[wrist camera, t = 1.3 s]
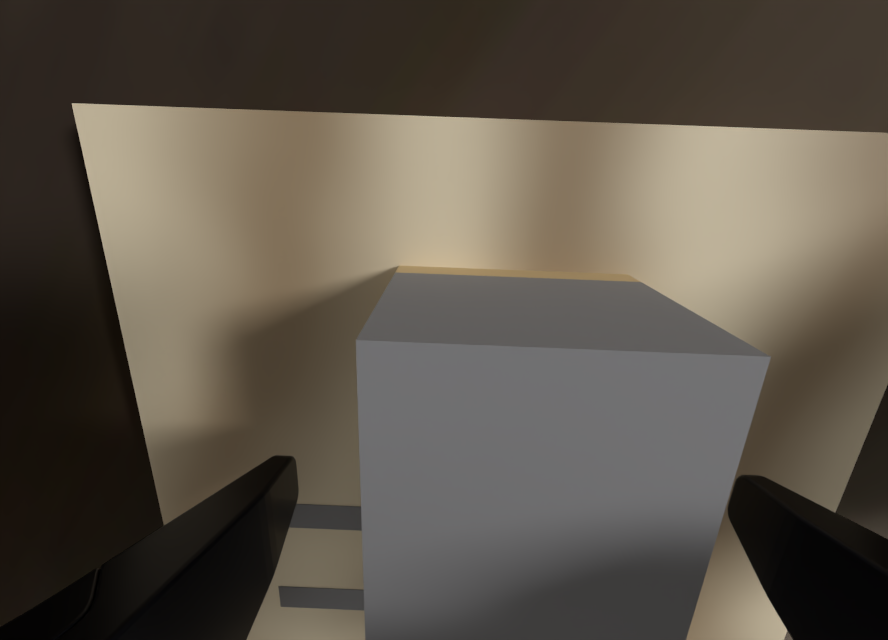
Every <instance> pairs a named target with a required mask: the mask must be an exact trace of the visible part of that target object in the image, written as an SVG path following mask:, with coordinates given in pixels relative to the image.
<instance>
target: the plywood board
mask: <svg viewBox="0 0 888 640" xmlns="http://www.w3.org/2000/svg"><path fill="white" fill-rule="evenodd" d="M72 107H73V112H74V116H75V121H76V125H77V130H78V134H79V139H80V144H81V148H82V153H83V157H84V162H85V166H86V171H87V176H88V180H89V185H90V189H91V194H92V198H93V203H94V208H95V212H96V217H97V221H98V226H99V231H100V235H101V240H102V244H103V249H104V253H105V258H106V263H107V267H108V272H109V276H110V281H111V285H112V290H113V295H114V299H115V304H116V308H117V313H118V318H119V322H120V327H121V331H122V336H123V340H124V345H125V350H126V354H127V359H128V363H129V368H130V372H131V377H132V382H133V386H134V391H135V395H136V400H137V404H138V409H139V414H140V418H141V423H142V427H143V432H144V437H145V441H146V446H147V450H148V455H149V459H150V464H151V469H152V473H153V478H154V482H155V487H156V491H157V496H158V501H159V505H160V510H161V514H162V519H163V524H164V525H165V524H167V523H169V522H170V521H172V520H173V519H175V518H176V517H178V516H179V515H181V514H183V513H184V512H186V511H187V510H189V509H190V508H192V507H194V506H195V505H197V504H198V503H200V502H201V501H203V500H205V499H206V498H208V497H209V496H211V495H212V494H214V493H216V492H217V491H219V490H220V489H222V488H223V487H225V486H226V485H228V484H230V483H231V482H233V481H234V480H236V479H237V478H239V477H241V476H242V475H244V474H245V473H247V472H248V471H250V470H252V469H253V468H255V467H256V466H258V465H259V464H261V463H263V462H264V461H266V460H267V459H269V458H270V457H272V456H275V455H285V456H293V457H294V458H295V460H296V464H297V475H298V487H299V494H298V500H297V504H296V507H295V510H294V513H293V516H292V520H291V523H290V526H289V529H288V532H287V536H286V539H285V542H284V545H283V549H282V552H281V555H280V558H279V561H278V565H277V568H276V571H275V574H274V576H273V579H272V581H271V584H270V586H269V589H268V591H267V593H266V596H265V598H264V600H263V603H262V605H261V607H260V610H259V612H258V614H257V617H256V619H255V621H254V624H253V626H252V628H251V631H250V633H249V635H248V637H247V640H365V614H364V583H363V552H362V520H361V489H360V458H359V427H358V395H357V364H356V339H357V337H358V335H359V334H360V332H361V330H362V329H363V327H364V325H365V323H366V322H367V320H368V318H369V317H370V315H371V313H372V311H373V310H374V308H375V306H376V305H377V303H378V301H379V299H380V298H381V296H382V294H383V293H384V291H385V289H386V287H387V286H388V284H389V282H390V281H391V279H392V277H393V275H394V274H395V272H396V270H397V269H398V267H399V266H424V267H450V268H476V269H501V270H527V271H553V272H579V273H604V274H628V275H630V276H632V277H633V278H635V279H637V280H638V281H640V282H642V283H644V284H645V285H647V286H649V287H651V288H652V289H654V290H656V291H658V292H659V293H661V294H663V295H665V296H666V297H668V298H670V299H671V300H673V301H675V302H677V303H678V304H680V305H682V306H684V307H685V308H687V309H689V310H691V311H692V312H694V313H696V314H698V315H699V316H701V317H703V318H705V319H706V320H708V321H710V322H711V323H713V324H715V325H717V326H718V327H720V328H722V329H724V330H725V331H727V332H729V333H731V334H732V335H734V336H736V337H738V338H739V339H741V340H743V341H744V342H746V343H748V344H750V345H751V346H753V347H755V348H757V349H758V350H760V351H762V352H764V353H765V354H767V355H769V356H771V359H770V362H769V365H768V369H767V372H766V375H765V379H764V382H763V385H762V389H761V392H760V395H759V399H758V402H757V405H756V409H755V412H754V415H753V419H752V422H751V425H750V429H749V432H748V435H747V439H746V442H745V445H744V448H743V452H742V455H741V458H740V462H739V465H738V468H737V472H736V475H735V478H734V482H733V485H732V488H731V492H730V495H729V498H728V502H727V505H726V508H725V512H724V515H723V518H722V522H721V525H720V528H719V532H718V535H717V538H716V542H715V545H714V548H713V552H712V555H711V558H710V562H709V565H708V568H707V572H706V575H705V578H704V582H703V585H702V588H701V591H700V595H699V598H698V601H697V605H696V608H695V611H694V615H693V618H692V621H691V625H690V628H689V631H688V635H687V638H686V640H784V638H785V635H786V633H787V629H786V627H785V626H784V624H783V622H782V621H781V619H780V617H779V616H778V614H777V612H776V611H775V609H774V607H773V606H772V604H771V602H770V600H769V599H768V597H767V595H766V593H765V591H764V589H763V587H762V585H761V583H760V581H759V579H758V577H757V575H756V573H755V571H754V569H753V567H752V565H751V563H750V561H749V559H748V557H747V555H746V553H745V551H744V549H743V547H742V545H741V543H740V541H739V539H738V537H737V534H736V532H735V530H734V528H733V526H732V524H731V522H730V520H729V517H728V504H729V500H730V497H731V494H732V491H733V487H734V484H735V481H736V479H737V478H738V476H740V475H760V476H764V477H766V478H768V479H770V480H772V481H774V482H776V483H778V484H780V485H782V486H784V487H786V488H788V489H790V490H792V491H794V492H796V493H798V494H800V495H801V496H803V497H805V498H807V499H809V500H811V501H813V502H815V503H817V504H819V505H821V506H823V507H825V508H827V509H829V510H831V511H833V512H836V510H837V508H838V505H839V503H840V500H841V498H842V495H843V493H844V490H845V488H846V485H847V483H848V481H849V478H850V476H851V473H852V471H853V468H854V466H855V463H856V461H857V458H858V456H859V454H860V451H861V449H862V446H863V444H864V441H865V439H866V436H867V434H868V431H869V429H870V426H871V424H872V422H873V419H874V417H875V414H876V412H877V409H878V407H879V404H880V402H881V399H882V397H883V395H884V392H885V390H886V387H887V385H888V133H874V132H847V131H819V130H792V129H764V128H737V127H709V126H682V125H654V124H627V123H599V122H572V121H544V120H517V119H489V118H462V117H434V116H407V115H379V114H352V113H324V112H297V111H269V110H241V109H214V108H186V107H159V106H131V105H104V104H76V103H72Z"/></svg>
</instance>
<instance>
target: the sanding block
mask: <svg viewBox="0 0 888 640" xmlns="http://www.w3.org/2000/svg"><path fill="white" fill-rule="evenodd" d="M770 359H771V356H769V355H767V354H765V353H764V352H762V351H760V350H758V349H757V348H755V347H753V346H751V345H750V344H748V343H746V342H744V341H743V340H741V339H739V338H738V337H736V336H734V335H732V334H731V333H729V332H727V331H725V330H724V329H722V328H720V327H718V326H717V325H715V324H713V323H711V322H710V321H708V320H706V319H705V318H703V317H701V316H699V315H698V314H696V313H694V312H692V311H691V310H689V309H687V308H685V307H684V306H682V305H680V304H678V303H677V302H675V301H673V300H671V299H670V298H668V297H666V296H665V295H663V294H661V293H659V292H658V291H656V290H654V289H652V288H651V287H649V286H647V285H645V284H644V283H642V282H640V281H638V280H637V279H635V278H633V277H632V276H630V275H628V274H604V273H579V272H553V271H527V270H501V269H476V268H450V267H424V266H399V267H398V269H397V270H396V272H395V274H394V275H393V277H392V279H391V281H390V282H389V284H388V286H387V287H386V289H385V291H384V293H383V294H382V296H381V298H380V299H379V301H378V303H377V305H376V306H375V308H374V310H373V311H372V313H371V315H370V317H369V318H368V320H367V322H366V323H365V325H364V327H363V329H362V330H361V332H360V334H359V335H358V337H357V339H356V364H357V395H358V427H359V458H360V489H361V520H362V552H363V583H364V614H365V640H686V638H687V635H688V631H689V628H690V625H691V621H692V618H693V615H694V611H695V608H696V605H697V601H698V598H699V595H700V591H701V588H702V585H703V582H704V578H705V575H706V572H707V568H708V565H709V562H710V558H711V555H712V552H713V548H714V545H715V542H716V538H717V535H718V532H719V528H720V525H721V522H722V518H723V515H724V512H725V508H726V505H727V502H728V498H729V495H730V492H731V488H732V485H733V482H734V478H735V475H736V472H737V468H738V465H739V462H740V458H741V455H742V452H743V448H744V445H745V442H746V439H747V435H748V432H749V429H750V425H751V422H752V419H753V415H754V412H755V409H756V405H757V402H758V399H759V395H760V392H761V389H762V385H763V382H764V379H765V375H766V372H767V369H768V365H769V362H770Z"/></svg>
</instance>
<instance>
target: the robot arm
mask: <svg viewBox="0 0 888 640" xmlns="http://www.w3.org/2000/svg"><path fill="white" fill-rule="evenodd" d="M298 494H299V487H298V475H297V464H296V460H295V458H294V457H293V456H285V455H275V456H272V457H270V458H269V459H267V460H266V461H264V462H263V463H261V464H259V465H258V466H256V467H255V468H253V469H252V470H250V471H248V472H247V473H245V474H244V475H242V476H241V477H239V478H237V479H236V480H234V481H233V482H231V483H230V484H228V485H226V486H225V487H223V488H222V489H220V490H219V491H217V492H216V493H214V494H212V495H211V496H209V497H208V498H206V499H205V500H203V501H201V502H200V503H198V504H197V505H195V506H194V507H192V508H190V509H189V510H187V511H186V512H184V513H183V514H181V515H179V516H178V517H176V518H175V519H173V520H172V521H170V522H169V523H167V524H165V525H164V526H162V527H161V528H159V529H158V530H156V531H154V532H153V533H151V534H150V535H148V536H147V537H145V538H143V539H142V540H140V541H139V542H137V543H136V544H134V545H132V546H131V547H129V548H128V549H126V550H125V551H123V552H121V553H120V554H118V555H117V556H115V557H114V558H112V559H110V560H109V561H107V562H106V563H104V564H103V565H102V566H101V569H99V568H97V569H95V570H93V571H91V572H90V573H88V574H87V575H85V576H84V577H82V578H81V579H79V580H77V581H76V582H74V583H73V584H71V585H69V586H68V587H66V588H65V589H63V590H61V591H60V592H58V593H57V594H55V595H53V596H52V597H50V598H48V599H47V600H45V601H44V602H42V603H40V604H39V605H37V606H35V607H34V608H32V609H31V610H29V611H27V612H25V613H24V614H22V615H20V616H19V617H17V618H15V619H13V620H12V621H10V622H8V623H7V624H5V625H3V626H1V627H0V640H247V637H248V635H249V633H250V631H251V628H252V626H253V624H254V621H255V619H256V617H257V614H258V612H259V610H260V607H261V605H262V603H263V600H264V598H265V596H266V593H267V591H268V589H269V586H270V584H271V581H272V579H273V576H274V574H275V571H276V568H277V565H278V561H279V558H280V555H281V552H282V549H283V545H284V542H285V539H286V536H287V532H288V529H289V526H290V523H291V520H292V516H293V513H294V510H295V507H296V504H297V500H298ZM728 517H729V520H730V522H731V524H732V526H733V528H734V530H735V532H736V534H737V537H738V539H739V541H740V543H741V545H742V547H743V549H744V551H745V553H746V555H747V557H748V559H749V561H750V563H751V565H752V567H753V569H754V571H755V573H756V575H757V577H758V579H759V581H760V583H761V585H762V587H763V589H764V591H765V593H766V595H767V597H768V599H769V600H770V602H771V604H772V606H773V607H774V609H775V611H776V612H777V614H778V616H779V617H780V619H781V621H782V622H783V624H784V626H785V627H786V629H787V631H788V632H789V634H790V636H791V637H792V639H793V640H888V539H886V538H884V537H882V536H880V535H878V534H876V533H874V532H872V531H870V530H868V529H866V528H864V527H862V526H860V525H858V524H857V523H855V522H853V521H851V520H849V519H847V518H845V517H843V516H841V515H839V514H837V513H835V512H833V511H831V510H829V509H827V508H825V507H823V506H821V505H819V504H817V503H815V502H813V501H811V500H809V499H807V498H805V497H803V496H801V495H800V494H798V493H796V492H794V491H792V490H790V489H788V488H786V487H784V486H782V485H780V484H778V483H776V482H774V481H772V480H770V479H768V478H766V477H764V476H760V475H740V476H738V478H737V479H736V481H735V484H734V487H733V491H732V494H731V497H730V500H729V504H728Z"/></svg>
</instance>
